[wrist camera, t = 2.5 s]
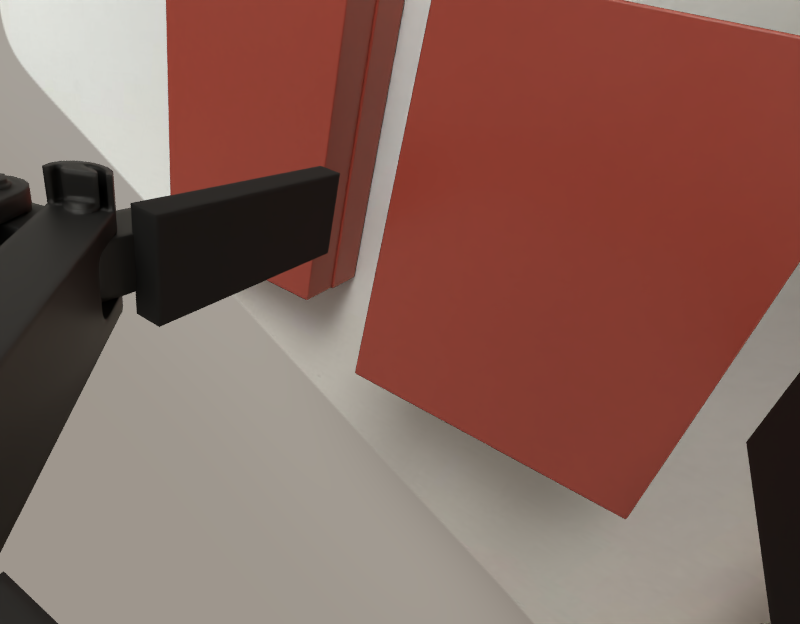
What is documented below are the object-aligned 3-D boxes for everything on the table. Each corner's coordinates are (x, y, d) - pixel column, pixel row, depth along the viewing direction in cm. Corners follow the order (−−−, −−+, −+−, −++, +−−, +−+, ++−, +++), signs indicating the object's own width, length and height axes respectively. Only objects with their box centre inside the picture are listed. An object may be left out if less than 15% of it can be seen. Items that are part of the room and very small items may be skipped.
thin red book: (466, -24, 15) (437, -38, 13) (903, 65, 11) (935, 62, 10) (379, 352, 22) (354, 373, 20) (632, 483, 18) (626, 520, 17)
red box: (234, -62, 24) (161, -85, 21) (409, -24, 21) (355, -45, 17) (225, 216, 31) (169, 232, 28) (354, 277, 28) (308, 301, 24)
